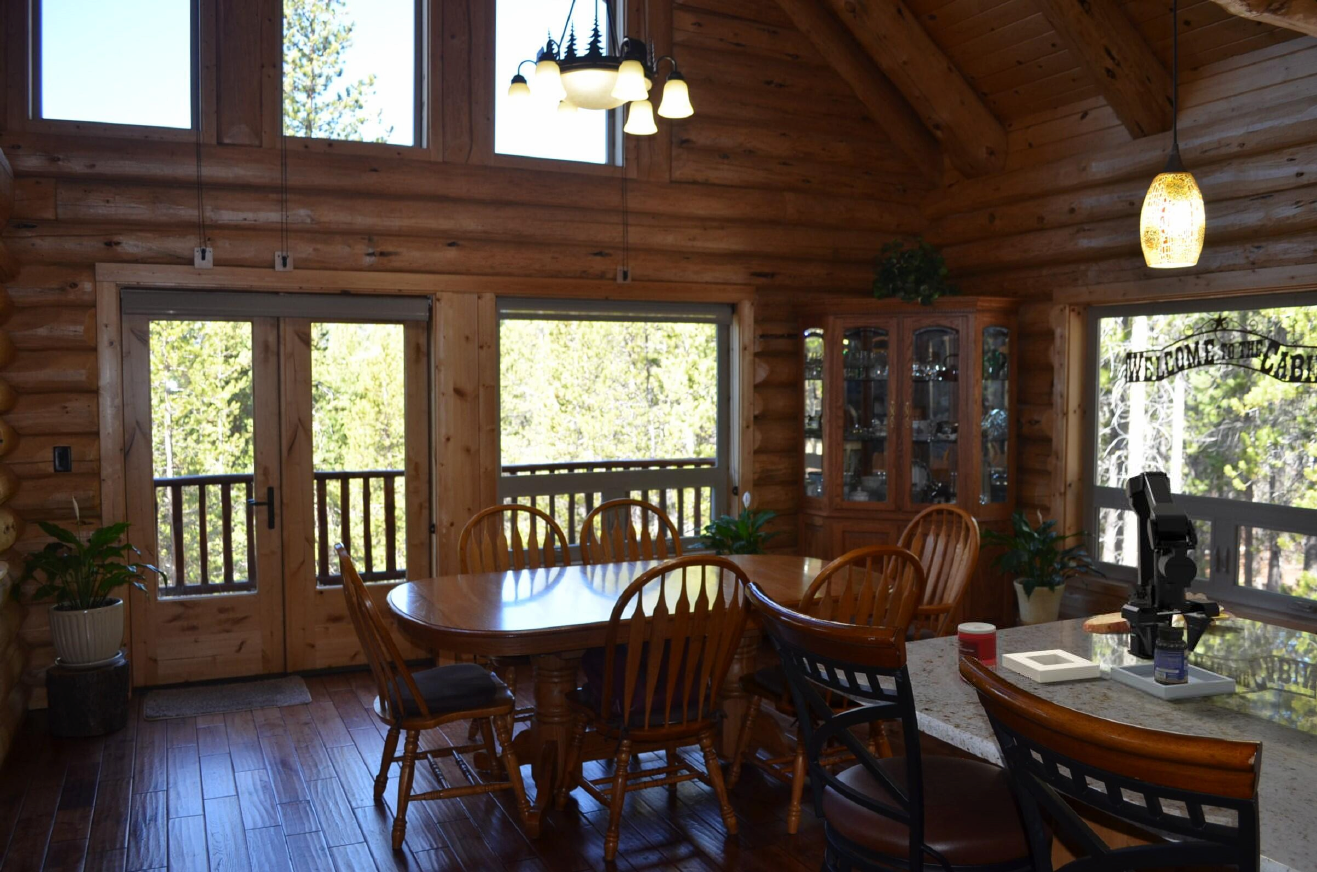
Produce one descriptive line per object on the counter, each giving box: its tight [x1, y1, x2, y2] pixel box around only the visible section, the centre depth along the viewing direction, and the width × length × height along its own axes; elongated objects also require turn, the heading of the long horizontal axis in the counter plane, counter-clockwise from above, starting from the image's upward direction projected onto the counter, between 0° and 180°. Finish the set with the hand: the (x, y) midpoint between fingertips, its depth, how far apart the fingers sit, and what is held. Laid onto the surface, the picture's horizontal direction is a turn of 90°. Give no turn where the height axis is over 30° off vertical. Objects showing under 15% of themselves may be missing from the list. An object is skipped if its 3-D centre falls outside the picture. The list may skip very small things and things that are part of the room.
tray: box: [1109, 662, 1237, 701], centre depth 209 cm, size 16×16×2 cm
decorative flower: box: [1172, 591, 1238, 630], centre depth 257 cm, size 15×11×10 cm
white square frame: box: [1001, 649, 1101, 684], centre depth 222 cm, size 14×14×2 cm
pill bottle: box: [1153, 625, 1189, 686], centre depth 208 cm, size 6×6×11 cm
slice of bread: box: [1082, 612, 1132, 634], centre depth 259 cm, size 18×18×4 cm
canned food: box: [957, 622, 998, 682], centre depth 218 cm, size 8×8×11 cm
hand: (1170, 653), depth 208 cm, fingers open, 9 cm apart
